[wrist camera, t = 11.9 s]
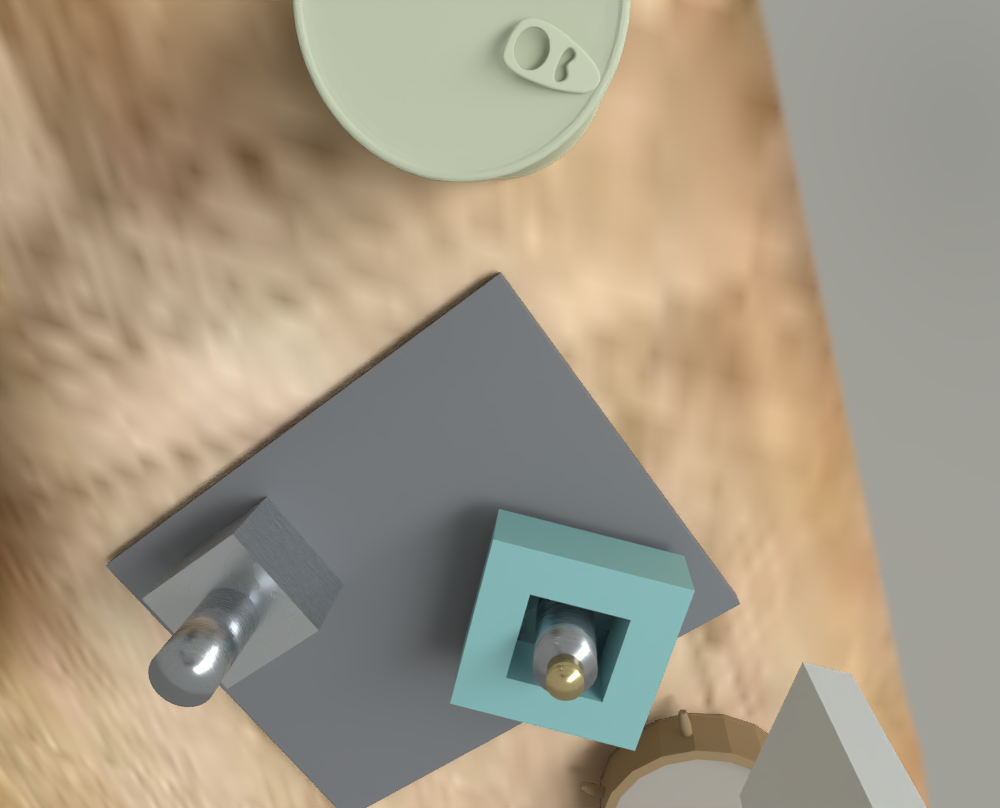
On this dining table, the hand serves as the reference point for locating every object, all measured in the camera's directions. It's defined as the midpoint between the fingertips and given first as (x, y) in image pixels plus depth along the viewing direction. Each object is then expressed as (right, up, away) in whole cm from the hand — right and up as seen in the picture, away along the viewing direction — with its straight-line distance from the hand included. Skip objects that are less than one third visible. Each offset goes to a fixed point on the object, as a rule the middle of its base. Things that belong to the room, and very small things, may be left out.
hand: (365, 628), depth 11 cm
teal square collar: (+5, -7, +25) cm, 26 cm away
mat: (-2, -5, +27) cm, 28 cm away
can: (+2, +18, +19) cm, 26 cm away
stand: (-10, -5, +27) cm, 29 cm away
